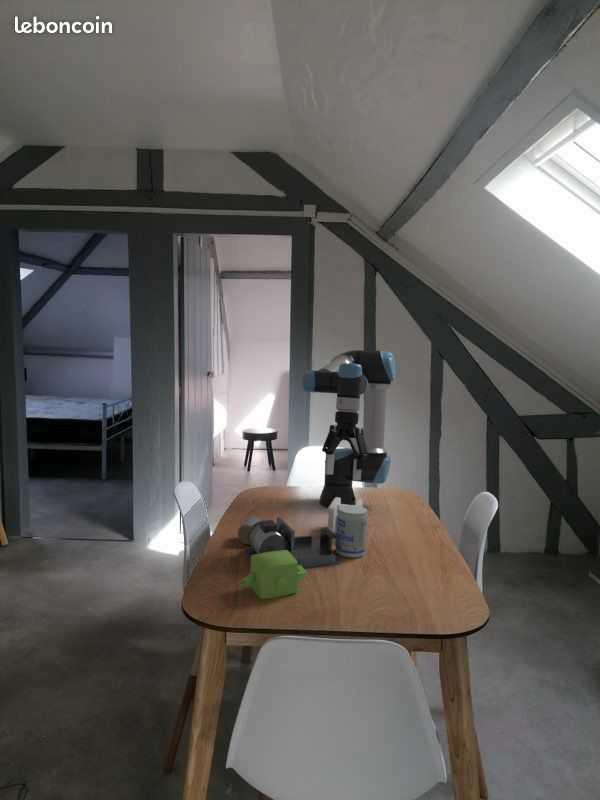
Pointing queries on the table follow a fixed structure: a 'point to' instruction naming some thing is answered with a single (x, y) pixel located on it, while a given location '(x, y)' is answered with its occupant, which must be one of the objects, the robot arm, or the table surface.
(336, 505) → the cable organizer
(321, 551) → the motor clip
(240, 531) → the ceramic mug
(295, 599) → the table surface
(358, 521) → the supplement tub
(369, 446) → the robot arm
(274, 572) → the gearbox
